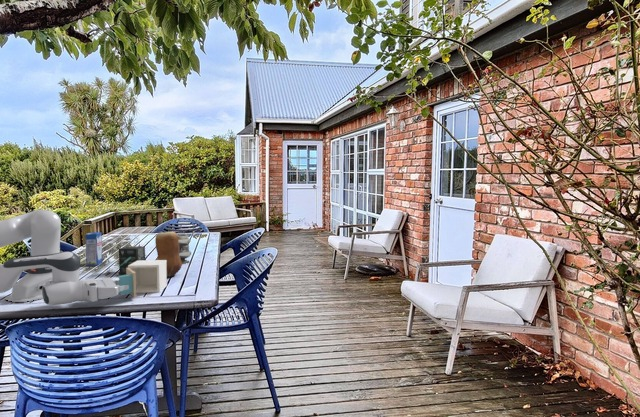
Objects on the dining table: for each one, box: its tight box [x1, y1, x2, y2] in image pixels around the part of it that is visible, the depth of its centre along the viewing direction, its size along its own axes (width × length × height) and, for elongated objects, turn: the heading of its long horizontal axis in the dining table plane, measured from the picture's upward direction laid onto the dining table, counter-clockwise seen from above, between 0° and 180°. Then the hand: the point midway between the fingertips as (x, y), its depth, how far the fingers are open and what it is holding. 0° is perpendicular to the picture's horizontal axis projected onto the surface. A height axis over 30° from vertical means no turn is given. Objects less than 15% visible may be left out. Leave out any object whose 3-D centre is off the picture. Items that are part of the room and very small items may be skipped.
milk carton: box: [84, 231, 104, 267], centre depth 244 cm, size 10×6×20 cm, turn 13°
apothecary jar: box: [177, 234, 192, 265], centre depth 250 cm, size 12×12×18 cm
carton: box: [128, 259, 168, 294], centre depth 188 cm, size 12×14×13 cm
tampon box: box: [118, 245, 146, 275], centre depth 224 cm, size 11×9×15 cm
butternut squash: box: [154, 230, 183, 278], centre depth 213 cm, size 14×13×25 cm
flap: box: [118, 268, 137, 299], centre depth 173 cm, size 6×13×11 cm, turn 39°
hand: (126, 284), depth 170 cm, fingers open, 8 cm apart
